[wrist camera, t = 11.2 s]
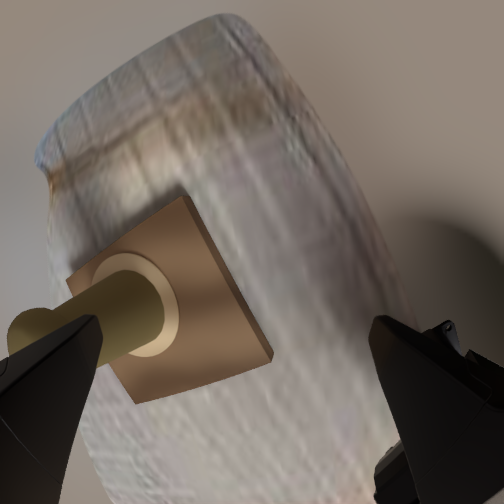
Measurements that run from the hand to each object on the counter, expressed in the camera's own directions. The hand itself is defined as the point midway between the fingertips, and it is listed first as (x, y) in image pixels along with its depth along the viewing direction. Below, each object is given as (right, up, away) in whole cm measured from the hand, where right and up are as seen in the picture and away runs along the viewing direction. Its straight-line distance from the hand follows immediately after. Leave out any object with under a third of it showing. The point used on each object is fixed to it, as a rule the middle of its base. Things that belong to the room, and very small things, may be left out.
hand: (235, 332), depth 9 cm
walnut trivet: (-7, -2, +14) cm, 16 cm away
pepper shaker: (-9, -2, +13) cm, 16 cm away
